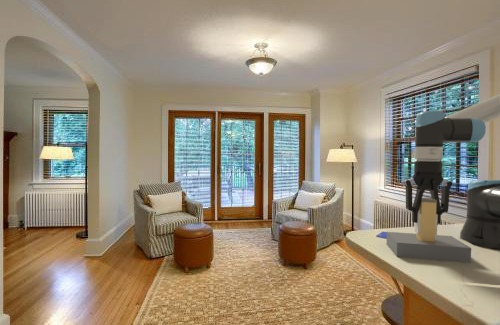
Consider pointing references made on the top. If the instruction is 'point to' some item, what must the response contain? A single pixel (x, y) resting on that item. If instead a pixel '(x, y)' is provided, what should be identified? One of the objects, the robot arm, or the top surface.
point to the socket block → (428, 247)
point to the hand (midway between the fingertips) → (425, 232)
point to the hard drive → (382, 235)
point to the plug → (427, 220)
